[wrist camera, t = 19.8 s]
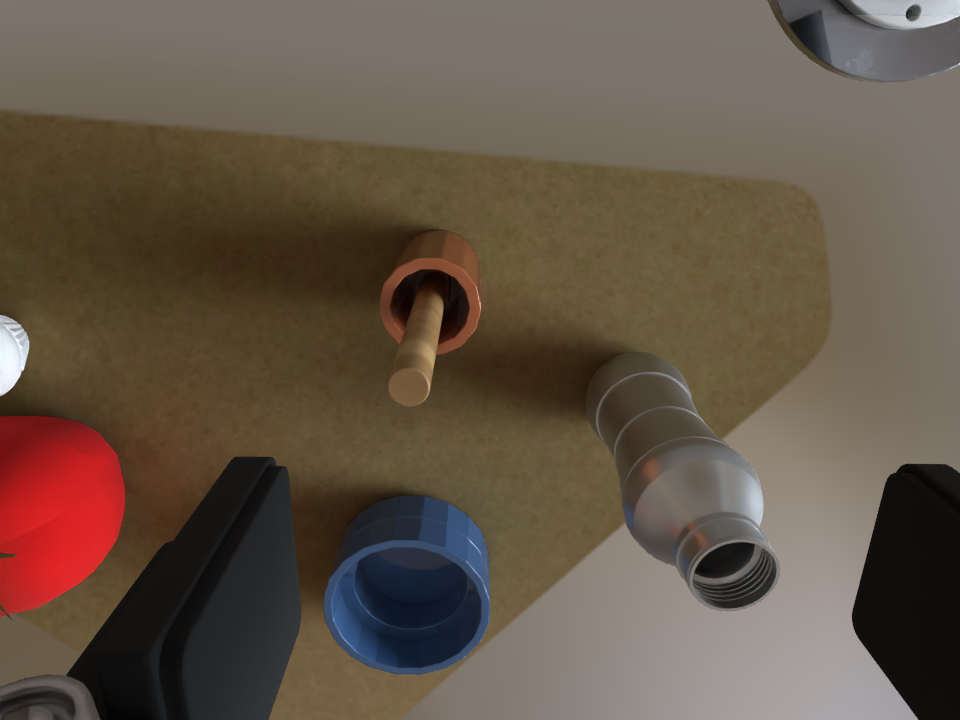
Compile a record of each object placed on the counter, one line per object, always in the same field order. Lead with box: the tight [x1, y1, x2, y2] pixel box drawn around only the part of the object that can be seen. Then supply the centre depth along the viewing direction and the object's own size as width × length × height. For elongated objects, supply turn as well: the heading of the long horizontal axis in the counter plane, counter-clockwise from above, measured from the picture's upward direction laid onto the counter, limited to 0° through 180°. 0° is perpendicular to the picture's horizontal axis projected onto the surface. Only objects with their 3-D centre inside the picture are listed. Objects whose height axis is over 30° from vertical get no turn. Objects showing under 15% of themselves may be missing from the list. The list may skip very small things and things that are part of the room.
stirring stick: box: [387, 269, 451, 407], centre depth 33 cm, size 2×2×19 cm
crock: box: [379, 230, 481, 355], centre depth 38 cm, size 5×5×9 cm
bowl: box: [323, 496, 490, 674], centre depth 47 cm, size 11×11×6 cm
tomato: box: [0, 416, 125, 618], centre depth 42 cm, size 12×13×12 cm
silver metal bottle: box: [586, 352, 780, 611], centre depth 36 cm, size 6×7×20 cm
